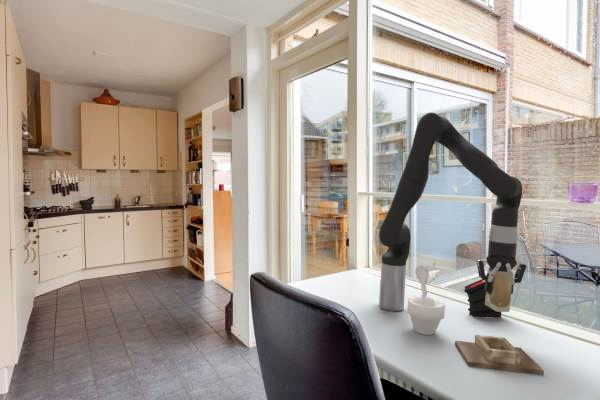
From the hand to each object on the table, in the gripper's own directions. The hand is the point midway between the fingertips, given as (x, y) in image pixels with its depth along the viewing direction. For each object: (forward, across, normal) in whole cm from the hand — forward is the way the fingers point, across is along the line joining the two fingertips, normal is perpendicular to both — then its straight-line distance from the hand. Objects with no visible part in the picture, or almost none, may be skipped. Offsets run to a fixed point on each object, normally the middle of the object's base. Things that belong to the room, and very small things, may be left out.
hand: (498, 293), depth 108 cm
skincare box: (+5, 0, 0) cm, 5 cm away
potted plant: (+15, -21, +1) cm, 26 cm away
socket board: (+14, -5, -14) cm, 21 cm away
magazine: (+15, +3, +22) cm, 27 cm away
